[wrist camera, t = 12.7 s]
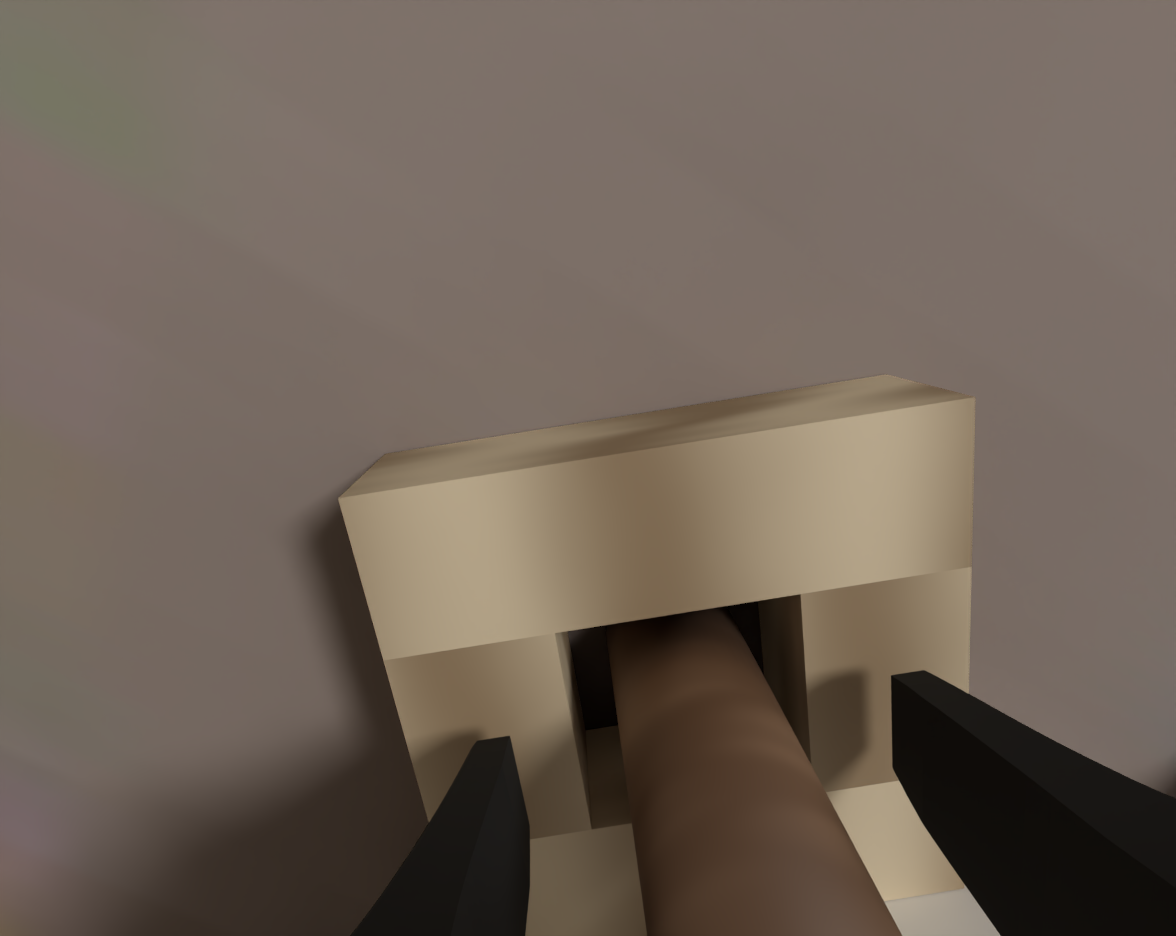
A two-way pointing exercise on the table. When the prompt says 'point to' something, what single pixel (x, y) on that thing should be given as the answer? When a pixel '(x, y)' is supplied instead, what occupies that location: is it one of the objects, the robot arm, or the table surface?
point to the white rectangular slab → (941, 915)
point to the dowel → (727, 793)
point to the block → (676, 602)
